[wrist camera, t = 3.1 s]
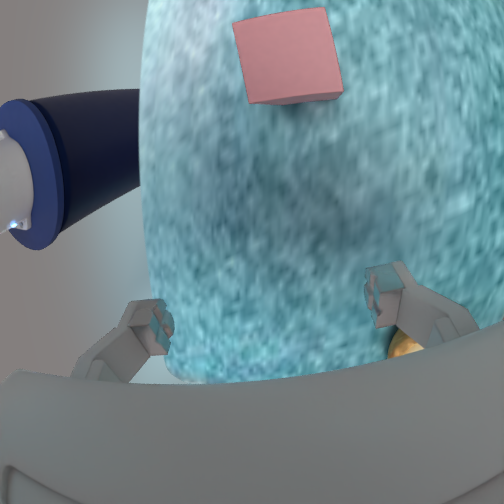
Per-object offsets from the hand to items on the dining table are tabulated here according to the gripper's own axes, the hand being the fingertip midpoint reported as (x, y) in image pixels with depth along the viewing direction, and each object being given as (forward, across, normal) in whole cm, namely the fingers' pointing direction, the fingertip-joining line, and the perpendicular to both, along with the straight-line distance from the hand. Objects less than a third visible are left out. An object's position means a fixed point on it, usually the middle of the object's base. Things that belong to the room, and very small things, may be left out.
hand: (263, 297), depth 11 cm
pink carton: (+18, +5, +8) cm, 20 cm away
